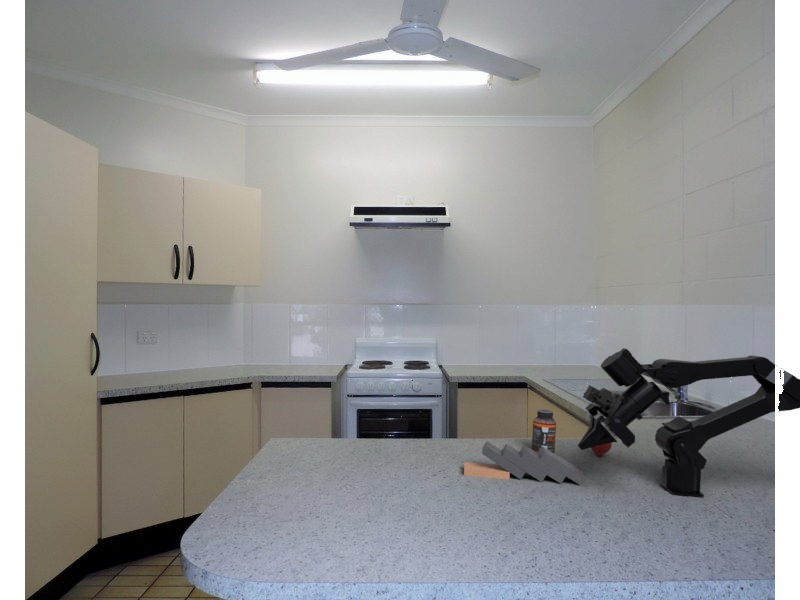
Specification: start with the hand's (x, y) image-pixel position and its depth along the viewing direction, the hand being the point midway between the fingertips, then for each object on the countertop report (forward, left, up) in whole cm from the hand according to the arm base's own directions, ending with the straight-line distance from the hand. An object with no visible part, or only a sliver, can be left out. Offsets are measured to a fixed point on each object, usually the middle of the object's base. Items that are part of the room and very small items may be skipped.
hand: (579, 447), depth 111 cm
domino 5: (-1, 0, -7) cm, 7 cm away
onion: (-11, -23, -8) cm, 27 cm away
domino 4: (+4, 0, -7) cm, 8 cm away
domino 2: (+12, 0, -7) cm, 14 cm away
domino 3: (+8, 0, -7) cm, 10 cm away
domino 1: (+15, 0, -7) cm, 17 cm away
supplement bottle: (+4, -21, -8) cm, 23 cm away
